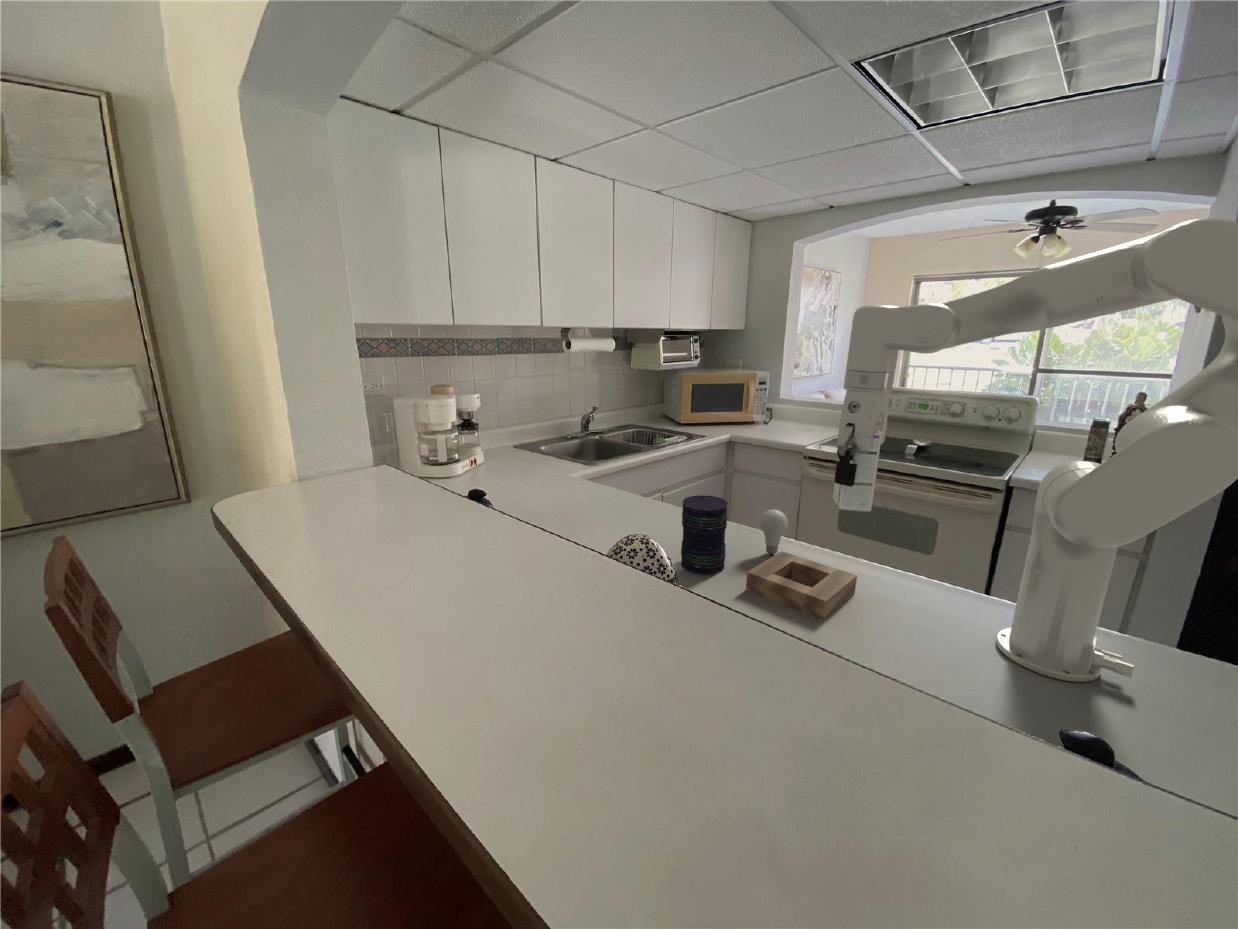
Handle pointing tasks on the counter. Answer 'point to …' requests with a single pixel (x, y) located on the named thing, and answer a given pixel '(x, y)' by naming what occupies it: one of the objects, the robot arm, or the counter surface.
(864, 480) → the syrup box
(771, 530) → the lightbulb
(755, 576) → the holder block
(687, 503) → the storage jar
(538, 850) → the counter surface
